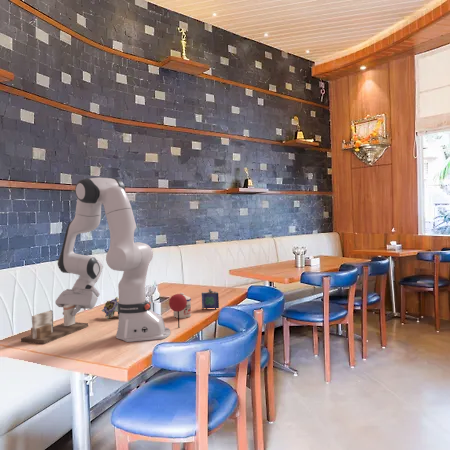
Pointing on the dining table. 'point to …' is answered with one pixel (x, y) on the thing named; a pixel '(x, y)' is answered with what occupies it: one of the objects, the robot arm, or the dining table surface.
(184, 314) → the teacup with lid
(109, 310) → the passion flower
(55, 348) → the dining table surface
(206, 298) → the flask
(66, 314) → the white striped box
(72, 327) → the board
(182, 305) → the lollipop
